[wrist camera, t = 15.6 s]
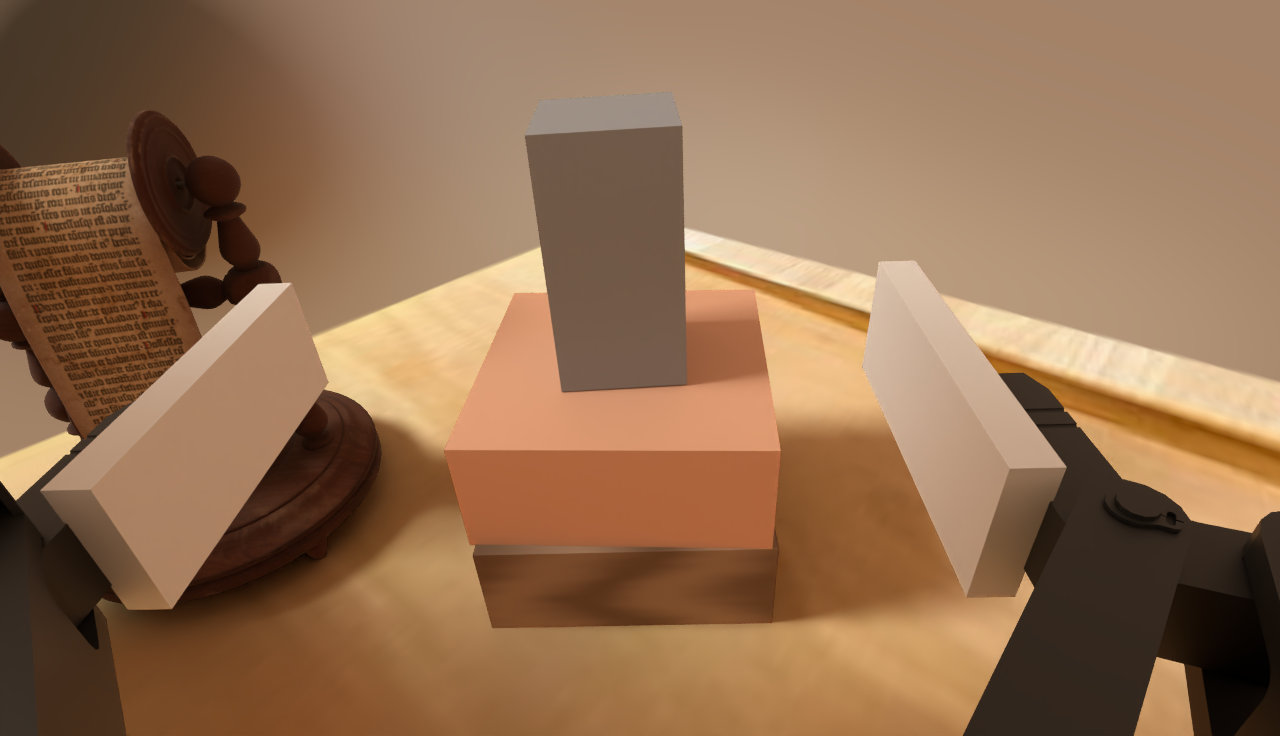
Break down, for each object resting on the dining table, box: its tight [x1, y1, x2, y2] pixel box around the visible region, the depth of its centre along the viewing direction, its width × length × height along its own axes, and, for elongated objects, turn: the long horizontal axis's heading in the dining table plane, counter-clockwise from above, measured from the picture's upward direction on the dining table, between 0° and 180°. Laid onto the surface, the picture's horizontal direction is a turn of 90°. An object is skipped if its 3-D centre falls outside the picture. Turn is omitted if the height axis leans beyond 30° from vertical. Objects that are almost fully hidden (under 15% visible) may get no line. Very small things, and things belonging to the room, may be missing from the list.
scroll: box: [0, 110, 381, 603], centre depth 31 cm, size 15×15×20 cm
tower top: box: [444, 290, 781, 549], centre depth 31 cm, size 12×12×5 cm
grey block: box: [525, 92, 687, 392], centre depth 26 cm, size 5×5×10 cm
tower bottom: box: [473, 527, 779, 628], centre depth 33 cm, size 12×12×5 cm
